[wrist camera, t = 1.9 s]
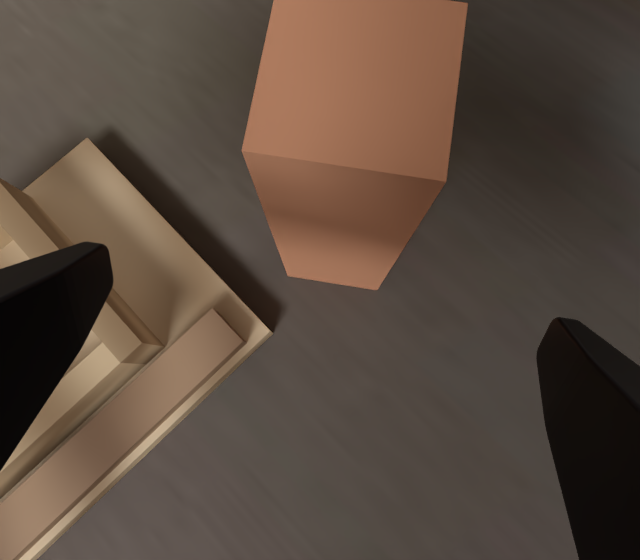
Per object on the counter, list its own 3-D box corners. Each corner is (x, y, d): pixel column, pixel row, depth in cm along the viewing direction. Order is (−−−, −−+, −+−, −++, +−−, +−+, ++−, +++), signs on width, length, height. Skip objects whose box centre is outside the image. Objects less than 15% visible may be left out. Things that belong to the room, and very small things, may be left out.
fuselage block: (378, 290, 21) (449, 181, 9) (286, 275, 21) (239, 150, 9) (390, 205, 22) (470, 3, 10) (301, 192, 22) (276, -24, 10)
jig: (-27, 620, 18) (-114, 681, 15) (-193, 392, 20) (-307, 396, 16) (273, 333, 20) (262, 324, 17) (99, 150, 22) (56, 106, 19)
